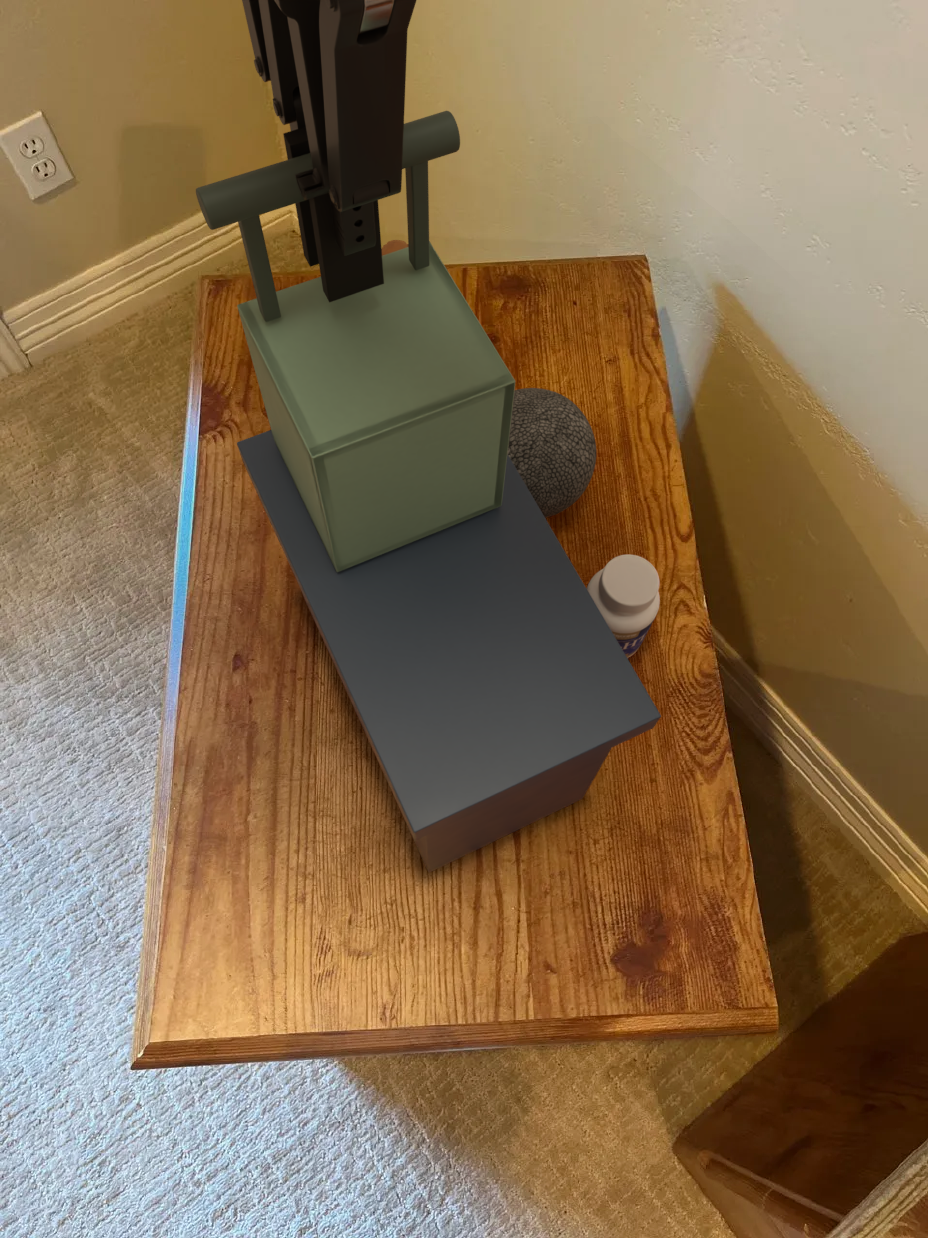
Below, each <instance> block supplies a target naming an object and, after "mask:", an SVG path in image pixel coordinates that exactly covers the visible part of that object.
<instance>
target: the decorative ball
mask: <svg viewBox="0 0 928 1238" xmlns="http://www.w3.org/2000/svg"><path fill="white" fill-rule="evenodd" d="M596 443H597V442H596V438H595V433H594V431H593V428H592V426H591V424H590V421H589V420H588V418H587V417H586V415H585V414H584V412H583V411H582V410H581V409H580V407H578V406H577V405H576V404H575V402H573V401H572V400H571V399H569V398H568V397H567V396H565V395H563V394H561V393H558V392H556V391H553V390H550V389H545V388H539V387H525V388H518V389H515V390H514V399H513V408H512V417H511V426H510V435H509V444H508V453H507V454H508V456H509V457H510V459H511V461H512V462H513V464H514V466H515V467H516V469H517V471H518V473H519V474H520V476H521V478H522V479H523V481H524V483H525V484H526V486H527V488H528V490H529V491H530V493H531V495H532V496H533V498H534V500H535V502H536V503H537V505H538V507H539V508H540V510H541V512H542V513H543V515H544V517H545V519H547V518H551V517H553V516H556V515H559V514H561V513H562V512H564V511H565V510H567V509H569V508H570V507H571V506H573V504H575V503H576V502H577V501H578V500H579V499H580V498H581V497H582V495H583V494H584V492H585V491H586V490H587V488H588V486H589V484H590V482H591V480H592V477H593V475H594V471H595V468H596V463H597V444H596Z"/></svg>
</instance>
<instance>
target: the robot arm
mask: <svg viewBox="0 0 928 1238" xmlns="http://www.w3.org/2000/svg"><path fill="white" fill-rule="evenodd" d="M241 2H242V6H243V10H244V16H245V19H246V25H247V29H248V34H249V37H250V42H251V47H252V51H253V56H254V60H253V64H254V67H255V68H254V69H255V70H256V73H257V74H258V76H259V77H260V78H261V80H262V81H263V83H268V82H270V84H271V91H272V107H273V110H274V114H275V116H276V117H278V118H279V120H280V122H281V124H282V125H283V126H285V125H289V129H290V131H287V132H283V133H282V135H283V141H284V146H285V153H286V157H287V160H289V159H292V158H295V157H298V156H302V155H305V154H308V153H311V159H312V165H313V169H311V170H308V171H305V172H301V173H298V174H295V177H296V181H297V184H298V187H299V190H300V192H301V194H302V196H303V198H304V199H305V201H302V202H298V203H295V204H294V205H295V210H296V216H297V222H298V227H299V228H298V229H299V233H300V239H301V246H302V251H303V256H304V258H305V260H306V262H307V263H308V266H309V267H314V266H317V265H319V273H320V277H321V280H322V287H323V292H324V293H325V295H326V297H327V299H328V301H329V302H332V301H335V300H338V299H341V298H344V297H347V296H350V295H353V294H356V293H358V292H361V291H364V290H367V289H370V288H373V287H376V286H379V285H382V284H384V276H383V263H382V237H381V235H382V234H381V224H380V223H381V222H380V209H379V200H382V199H385V198H388V197H391V196H395V195H397V194H400V193H401V192H402V181H403V169H402V159H403V133H404V124H405V108H406V107H405V105H406V104H405V103H406V81H407V78H406V77H407V53H408V29H409V26H410V24H411V19H412V16H413V13H414V10H415V8H416V7H415V6H416V3H417V0H241Z"/></svg>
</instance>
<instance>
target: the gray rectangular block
mask: <svg viewBox="0 0 928 1238" xmlns="http://www.w3.org/2000/svg"><path fill="white" fill-rule="evenodd" d="M236 446H237V448H238V452H239V455H240V457H241V460H242V463H243V465H244V468H245V469H246V470H245V471H246V472H247V474H248V476H249V479H250V480H251V483H252V485H253V488H254V489H255V492H256V494H257V496H258V498H259V500H260V502H261V505H262V507H263V509H264V512H265V514H266V517H267V518H268V520H269V523H270V525H271V527H272V529H273V532H274V533H275V536H276V538H277V540H278V543H279V544H280V548H281V549H282V551H283V553H284V556H285V558H286V561H287V563H288V565H289V566H290V569H291V571H292V573H293V575H294V577H295V580H296V582H297V584H298V586H299V589H300V590H301V594H302V596H303V599H304V601H305V604H306V606H307V608H308V610H309V613H310V615H311V617H312V619H313V622H314V624H315V625H316V628H317V630H318V632H319V634H320V637H321V639H322V641H323V643H324V645H325V648H326V650H327V653H328V654H329V657H330V659H331V661H332V663H333V665H334V668H335V670H336V672H337V674H338V676H339V678H340V681H341V683H342V685H343V687H344V689H345V692H346V694H347V696H348V698H349V700H350V703H351V705H352V707H353V709H354V712H355V714H356V716H357V718H358V720H359V723H360V725H361V727H362V729H363V731H364V733H365V736H366V738H367V741H368V743H369V744H370V748H371V749H372V751H373V754H374V756H375V758H376V760H377V762H378V765H379V767H380V769H381V771H382V773H383V776H384V779H385V780H386V782H387V784H388V786H389V789H390V791H391V794H392V796H393V798H394V800H395V802H396V804H397V806H398V809H399V811H400V813H401V815H402V817H403V820H404V821H405V825H406V826H407V829H408V831H409V833H410V835H411V838H412V840H413V842H414V844H415V846H416V849H417V850H418V853H419V855H420V858H421V859H422V861H423V864H424V866H425V868H426V870H427V873H429V874H430V873H432V872H434V871H436V870H438V869H441V868H442V867H444V866H446V865H448V864H450V863H453V862H454V861H457V860H458V859H461V858H462V857H465V856H467V855H469V854H472V853H473V852H475V851H477V850H479V849H481V848H484V847H485V846H488V845H490V844H492V843H494V842H497V841H498V840H500V839H502V838H504V837H507V836H508V835H511V834H513V833H515V832H517V831H519V830H521V829H523V828H525V827H527V826H529V825H531V824H534V823H535V822H537V821H539V820H542V819H543V818H546V817H548V816H550V815H552V814H554V813H556V812H558V811H561V810H563V809H564V808H567V807H569V806H571V805H573V804H575V803H577V802H579V801H581V800H583V798H584V797H585V795H586V793H588V790H589V789H590V787H591V784H592V783H593V781H594V779H595V778H596V776H597V775H598V772H599V771H600V769H601V767H602V765H603V763H604V762H605V760H606V758H607V757H608V755H609V753H610V752H611V751H612V748H615V747H616V746H619V745H621V744H623V743H626V742H627V741H629V740H631V739H633V738H636V737H637V736H641V735H642V734H644V733H646V732H648V731H650V730H653V729H654V728H655V727H656V725H657V723H658V722H659V720H660V719H661V717H662V715H661V713H660V711H659V709H658V708H657V706H656V704H655V703H654V701H653V699H652V698H651V696H650V694H649V692H648V691H647V689H646V688H645V685H644V684H643V682H642V680H641V679H640V677H639V675H638V673H637V672H636V670H635V669H634V667H633V665H632V663H631V662H630V660H629V658H627V657H626V655H625V653H624V652H623V650H622V648H621V646H620V645H619V643H618V641H617V640H616V638H615V636H614V634H613V633H612V631H611V629H610V628H609V626H608V624H607V623H606V621H605V619H604V617H603V616H602V614H601V612H600V611H599V609H598V607H597V606H596V604H595V602H594V600H593V599H592V597H591V595H590V594H589V592H588V590H587V586H586V585H585V583H584V581H583V579H582V578H581V577H580V575H579V573H578V572H577V569H576V568H575V566H574V565H573V563H572V561H571V560H570V558H569V556H568V554H567V553H566V551H565V549H564V548H563V546H562V544H561V542H560V540H559V539H558V538H557V535H556V534H555V532H554V531H553V528H552V527H551V525H550V523H549V522H548V520H547V518H545V517H544V515H543V513H542V512H541V510H540V508H539V507H538V505H537V503H536V502H535V500H534V498H533V496H532V495H531V493H530V491H529V490H528V488H527V486H526V484H525V483H524V481H523V479H522V478H521V476H520V474H519V473H518V471H517V469H516V467H515V466H514V464H513V462H512V461H511V459H510V457H509V456H508V454H507V462H506V471H505V480H504V488H503V497H502V506H500V507H498V508H495V509H492V510H490V511H487V512H485V513H483V514H480V515H478V516H475V517H473V518H470V519H468V520H465V521H463V522H460V523H458V524H455V525H453V526H450V527H448V528H446V529H443V530H441V531H438V532H436V533H433V534H431V535H428V536H426V537H423V538H421V539H418V540H416V541H413V542H411V543H409V544H406V545H404V546H401V547H399V548H396V549H394V550H391V551H389V552H386V553H384V554H381V555H379V556H376V557H374V558H372V559H369V560H367V561H364V562H362V563H359V564H357V565H354V566H352V567H349V568H347V569H344V570H342V571H339V572H336V570H335V568H334V566H333V563H332V561H331V559H330V557H329V555H328V553H327V551H326V549H325V547H324V544H323V542H322V540H321V538H320V536H319V534H318V532H317V530H316V528H315V525H314V523H313V521H312V519H311V517H310V515H309V513H308V511H307V509H306V507H305V504H304V502H303V500H302V498H301V496H300V494H299V492H298V490H297V488H296V485H295V483H294V481H293V479H292V477H291V475H290V473H289V471H288V469H287V466H286V464H285V462H284V460H283V458H282V456H281V454H280V452H279V450H278V447H277V445H276V443H275V441H274V438H273V434H272V431H271V429H269V430H266V431H264V432H261V433H258V434H255V435H253V436H249V437H248V438H245V439H242V440H240V441H237V442H236Z"/></svg>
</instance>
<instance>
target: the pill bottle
mask: <svg viewBox="0 0 928 1238" xmlns="http://www.w3.org/2000/svg"><path fill="white" fill-rule="evenodd" d="M586 588H587V590H588V592H589V594H590V595H591V597H592V599H593V600H594V602H595V604H596V606H597V607H598V609H599V611H600V612H601V614H602V616H603V617H604V619H605V621H606V623H607V624H608V626H609V628H610V629H611V631H612V633H613V634H614V636H615V638H616V640H617V641H618V643H619V645H620V646H621V648H622V650H623V652H624V653H625V655H626V657H627V658H628V659H629V658H631V657H632V656H633V655H635V653H636V652H638V650H639V648H640V647H641V646H642V643H644V640H645V638H646V636H647V634H648V632H649V630H650V629H651V627H652V625H653V623H654V621H655V619H656V616H657V615H658V613H659V609H660V603H661V598H660V590H659V589H660V577H659V573H658V571H657V569H656V568H655V566H654V565H653V564H652V563H651V562H650V561H649V560H648V559H646V558H644V557H642V556H640V555H636V554H628V553H627V554H620V555H617V556H615V557H613V558H612V559H610V560H609V561H608V562H607V563H606V565H604V567H603V568H602V569H599V570H598V571H597V572H596V573H595V574H594V575H593V576H592V577H591V579H590V580H589V582H588V584H587V586H586Z"/></svg>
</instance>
